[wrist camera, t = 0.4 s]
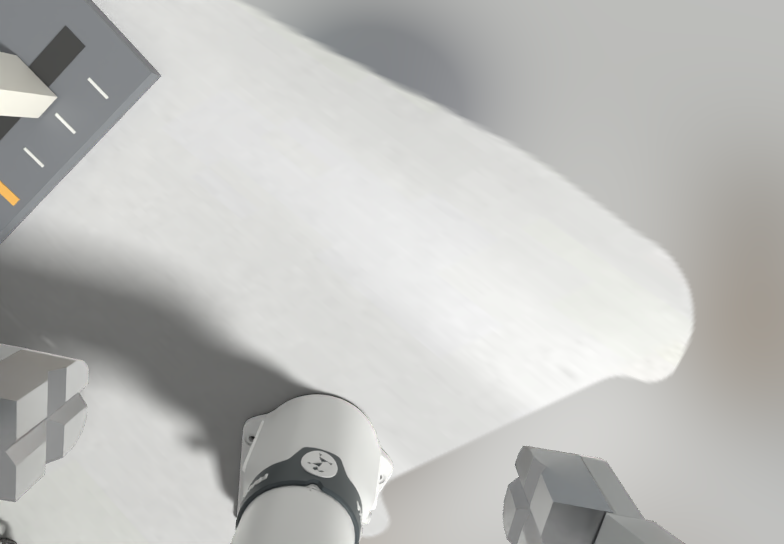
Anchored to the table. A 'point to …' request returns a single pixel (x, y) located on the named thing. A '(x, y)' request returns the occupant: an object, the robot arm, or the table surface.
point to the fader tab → (21, 89)
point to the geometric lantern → (7, 541)
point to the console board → (62, 95)
